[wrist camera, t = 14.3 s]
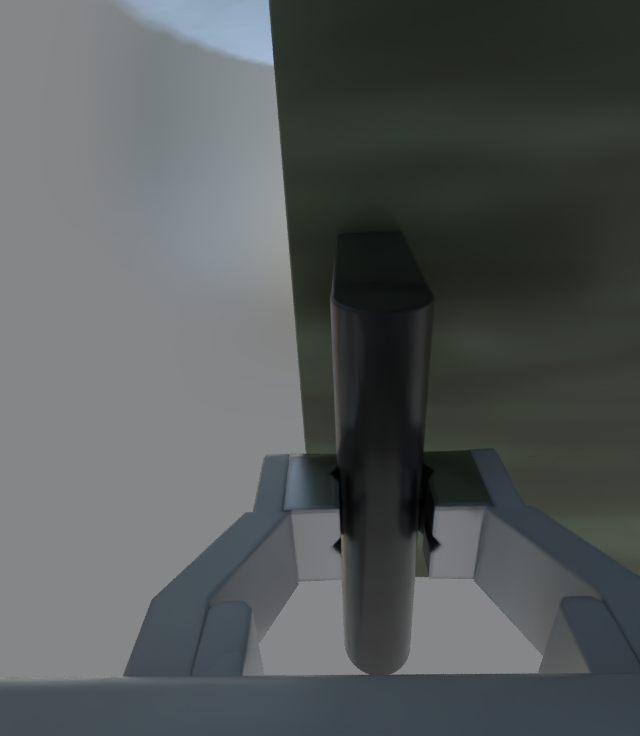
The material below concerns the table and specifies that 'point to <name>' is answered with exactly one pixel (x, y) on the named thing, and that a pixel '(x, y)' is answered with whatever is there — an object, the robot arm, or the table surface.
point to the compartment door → (463, 267)
